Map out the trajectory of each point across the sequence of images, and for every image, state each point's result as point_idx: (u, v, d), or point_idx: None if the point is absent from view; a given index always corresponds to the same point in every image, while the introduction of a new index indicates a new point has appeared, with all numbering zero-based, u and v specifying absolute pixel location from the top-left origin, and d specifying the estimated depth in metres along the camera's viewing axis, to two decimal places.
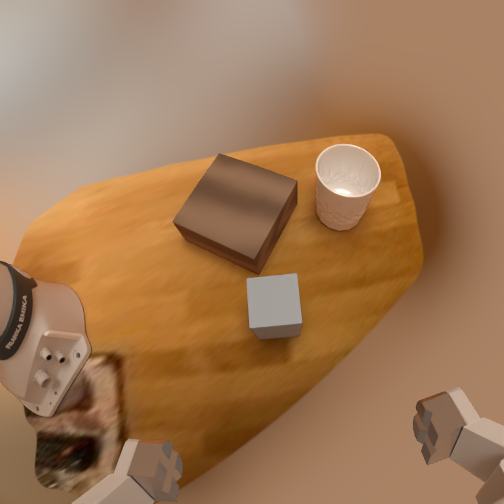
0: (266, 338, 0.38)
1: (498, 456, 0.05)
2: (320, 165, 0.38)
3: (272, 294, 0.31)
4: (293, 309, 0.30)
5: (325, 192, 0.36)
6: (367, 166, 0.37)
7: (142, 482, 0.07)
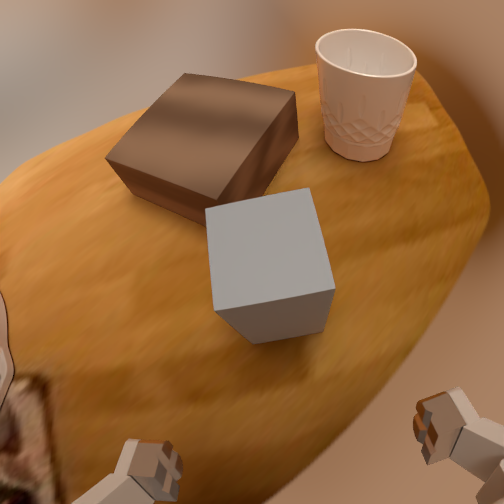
0: (264, 340, 0.21)
1: (498, 456, 0.05)
2: (322, 56, 0.22)
3: (260, 233, 0.14)
4: (311, 259, 0.13)
5: (336, 80, 0.20)
6: (391, 58, 0.21)
7: (142, 482, 0.07)
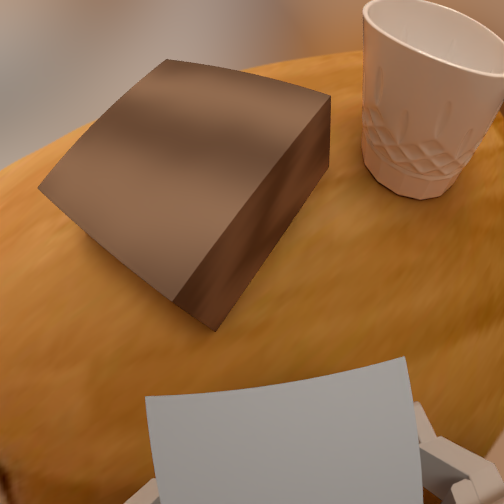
0: None
1: (453, 478, 0.05)
2: None
3: (279, 483, 0.05)
4: None
5: (405, 72, 0.10)
6: (465, 47, 0.12)
7: None
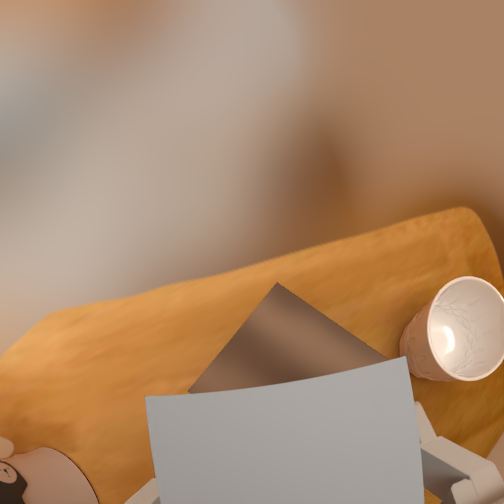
0: None
1: (453, 479, 0.05)
2: None
3: (280, 483, 0.04)
4: None
5: (437, 370, 0.19)
6: (486, 302, 0.21)
7: None
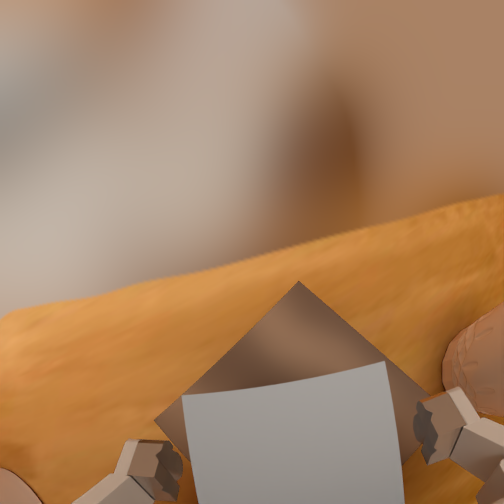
0: None
1: (498, 456, 0.05)
2: None
3: (289, 459, 0.06)
4: (375, 500, 0.05)
5: None
6: None
7: (142, 482, 0.07)
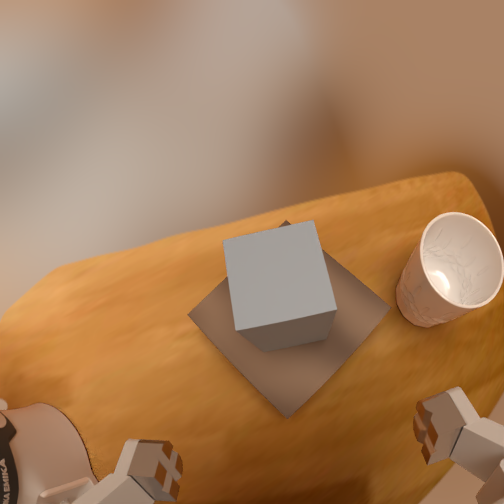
0: (273, 348, 0.24)
1: (498, 457, 0.05)
2: None
3: (272, 263, 0.16)
4: (316, 285, 0.15)
5: (433, 299, 0.21)
6: (477, 242, 0.22)
7: (142, 482, 0.07)
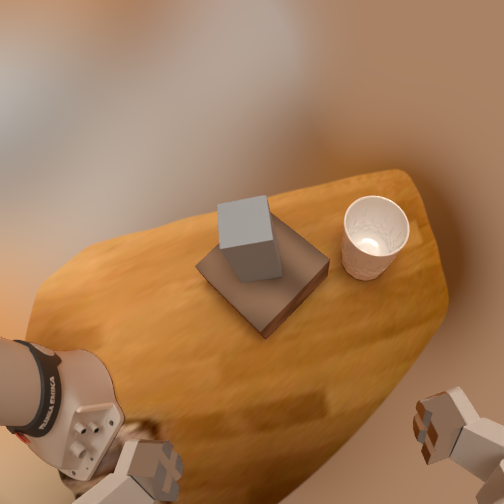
0: (247, 280, 0.38)
1: (498, 456, 0.05)
2: (347, 220, 0.37)
3: (242, 216, 0.31)
4: (263, 227, 0.30)
5: (354, 251, 0.35)
6: (393, 216, 0.36)
7: (142, 482, 0.07)
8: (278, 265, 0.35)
